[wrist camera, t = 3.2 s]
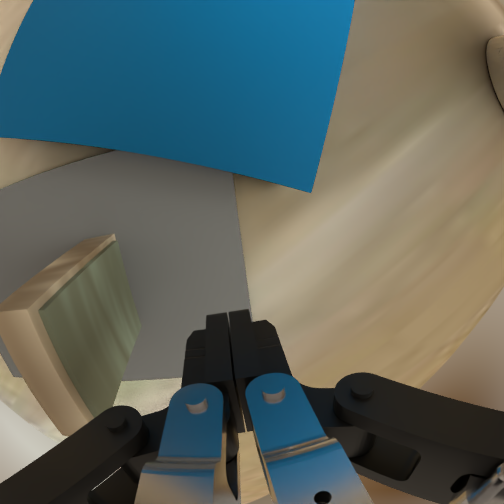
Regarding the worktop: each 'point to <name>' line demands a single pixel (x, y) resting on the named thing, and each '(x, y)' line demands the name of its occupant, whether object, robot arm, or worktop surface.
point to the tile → (73, 332)
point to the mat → (135, 243)
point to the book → (181, 80)
